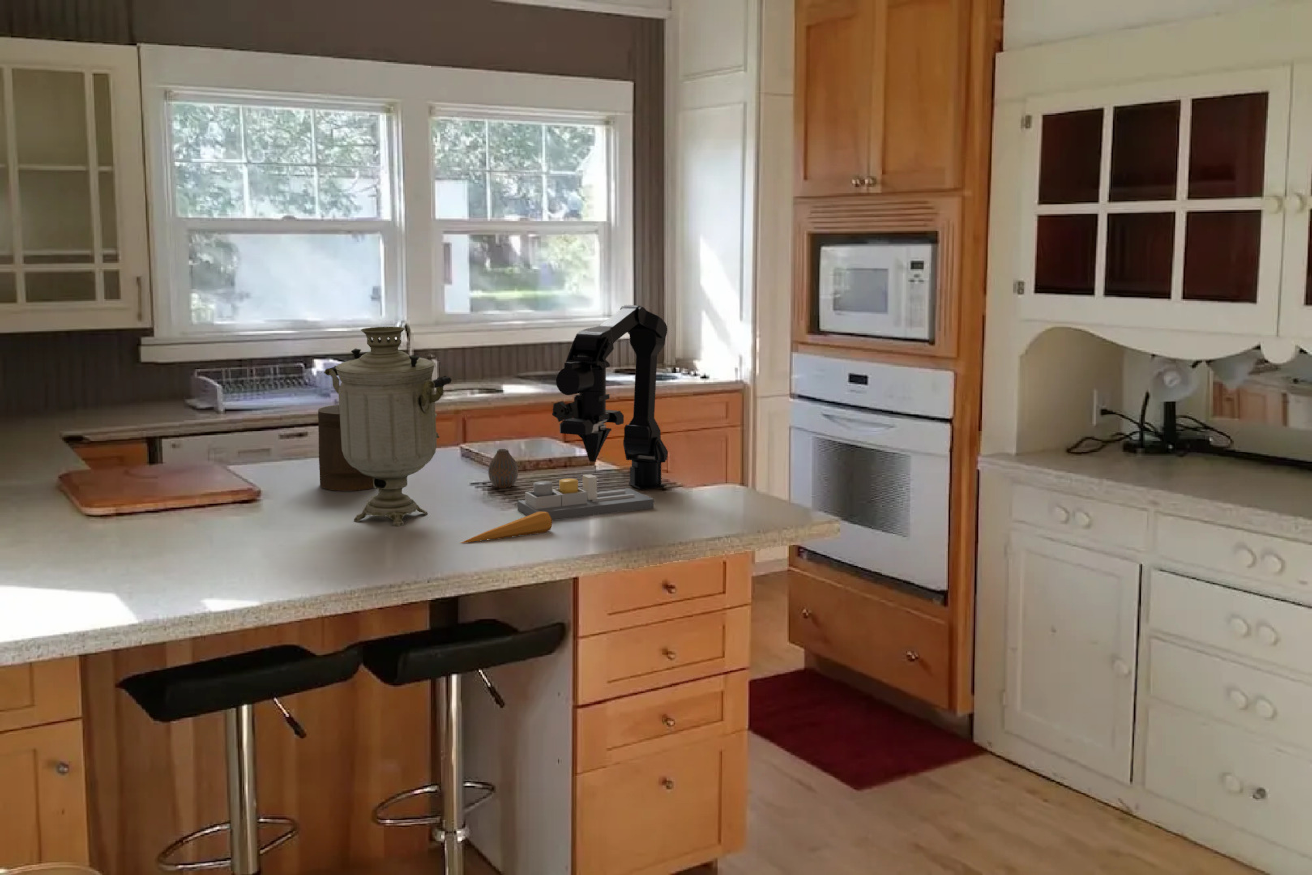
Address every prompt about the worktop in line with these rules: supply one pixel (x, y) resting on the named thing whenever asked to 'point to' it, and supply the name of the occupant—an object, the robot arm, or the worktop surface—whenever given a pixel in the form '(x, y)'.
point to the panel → (584, 503)
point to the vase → (503, 469)
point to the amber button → (568, 486)
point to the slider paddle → (590, 486)
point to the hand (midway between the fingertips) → (592, 461)
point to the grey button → (542, 488)
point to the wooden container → (336, 456)
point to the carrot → (518, 527)
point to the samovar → (387, 418)
